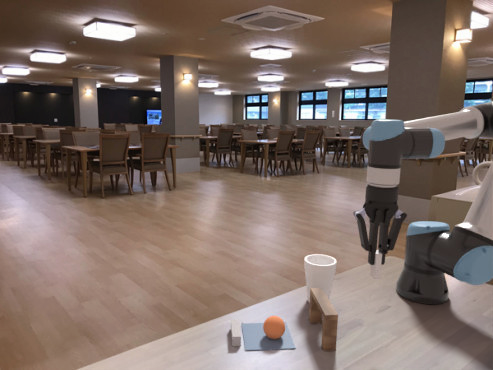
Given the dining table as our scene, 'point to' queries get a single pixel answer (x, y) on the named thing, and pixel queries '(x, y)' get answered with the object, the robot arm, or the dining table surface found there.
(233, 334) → the beige rectangular bar
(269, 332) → the ball
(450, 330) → the dining table surface
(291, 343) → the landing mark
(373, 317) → the dining table surface
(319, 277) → the foam cup
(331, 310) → the bridge
